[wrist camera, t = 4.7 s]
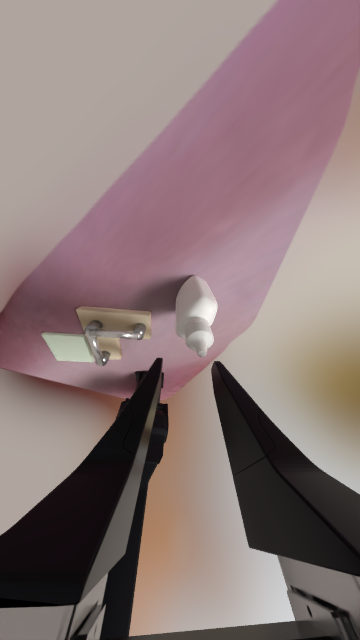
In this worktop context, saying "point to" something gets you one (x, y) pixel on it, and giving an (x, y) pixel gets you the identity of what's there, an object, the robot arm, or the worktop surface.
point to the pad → (69, 346)
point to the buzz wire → (112, 329)
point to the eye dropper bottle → (195, 314)
